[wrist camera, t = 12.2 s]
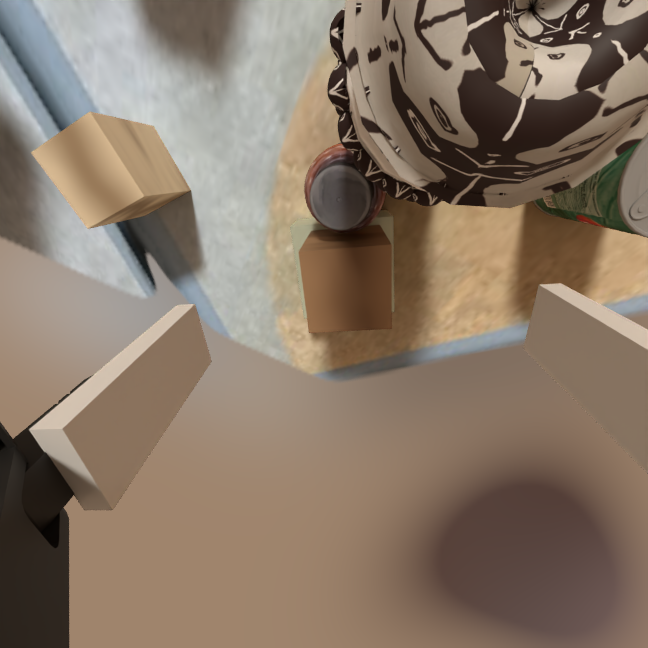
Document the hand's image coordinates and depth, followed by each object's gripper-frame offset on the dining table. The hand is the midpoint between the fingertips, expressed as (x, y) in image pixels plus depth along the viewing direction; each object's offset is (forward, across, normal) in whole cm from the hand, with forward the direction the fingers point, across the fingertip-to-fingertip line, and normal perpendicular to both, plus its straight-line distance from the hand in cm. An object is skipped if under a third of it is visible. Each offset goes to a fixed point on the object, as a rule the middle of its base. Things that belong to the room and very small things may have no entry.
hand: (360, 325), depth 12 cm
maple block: (+22, -19, +7) cm, 30 cm away
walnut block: (+17, 0, -2) cm, 17 cm away
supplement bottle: (+22, +1, +5) cm, 22 cm away
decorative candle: (+22, +4, +8) cm, 24 cm away
